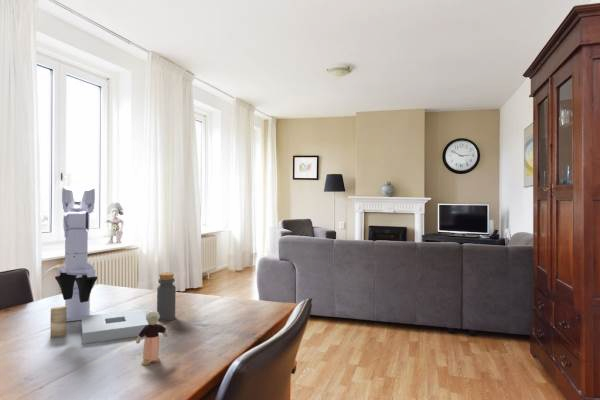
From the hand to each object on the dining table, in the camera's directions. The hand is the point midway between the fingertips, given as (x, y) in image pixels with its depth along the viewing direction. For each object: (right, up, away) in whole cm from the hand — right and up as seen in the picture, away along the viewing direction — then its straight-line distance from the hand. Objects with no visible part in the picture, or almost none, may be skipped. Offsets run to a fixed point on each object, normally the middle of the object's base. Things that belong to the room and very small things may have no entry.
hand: (75, 300), depth 117 cm
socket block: (+8, -11, +7) cm, 15 cm away
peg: (-6, -11, +2) cm, 12 cm away
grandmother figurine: (+28, -11, -16) cm, 34 cm away
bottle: (+20, -11, +19) cm, 30 cm away
